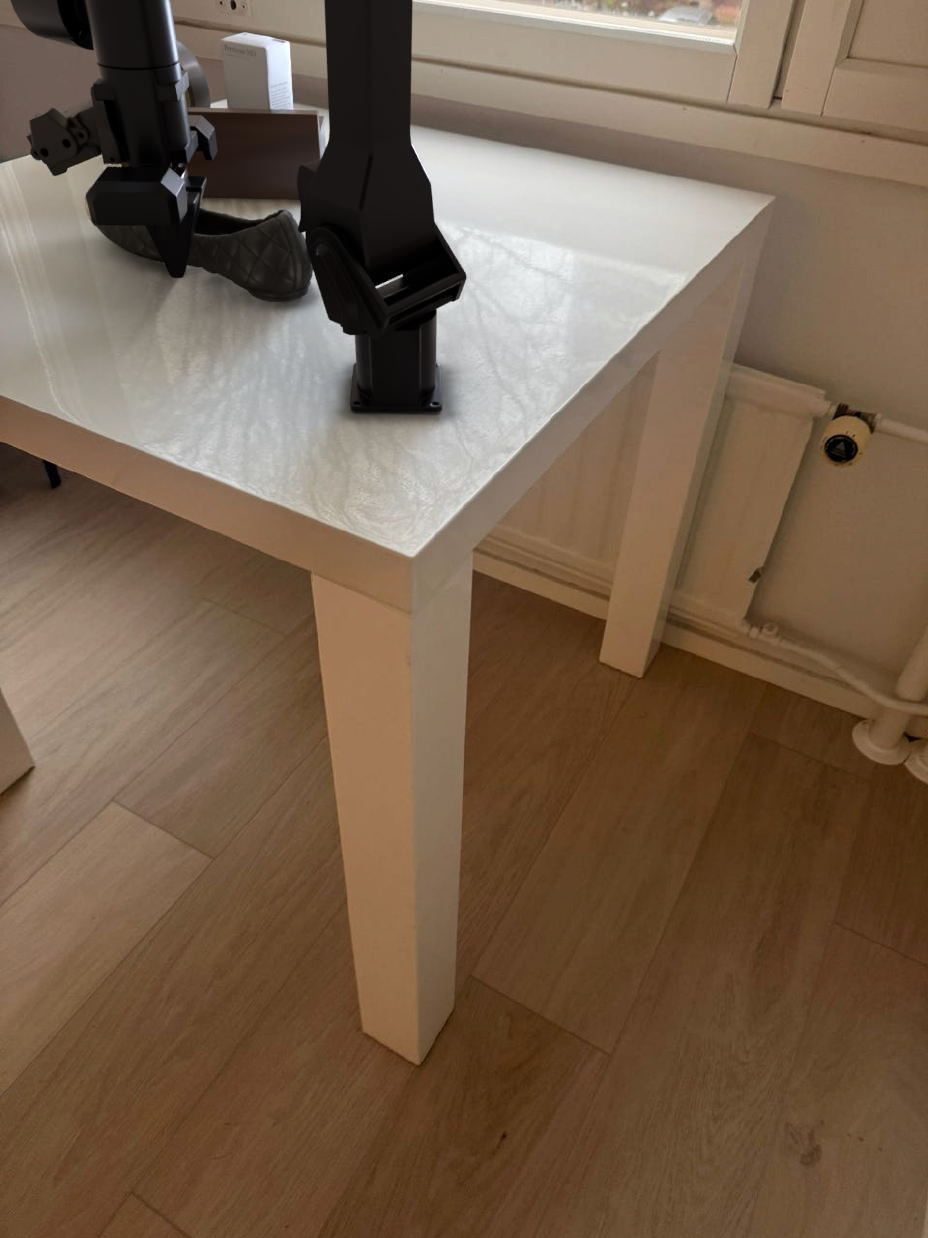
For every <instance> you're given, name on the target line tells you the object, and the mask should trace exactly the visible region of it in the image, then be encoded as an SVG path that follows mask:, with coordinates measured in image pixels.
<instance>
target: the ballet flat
mask: <svg viewBox="0 0 928 1238" xmlns="http://www.w3.org/2000/svg"><path fill="white" fill-rule="evenodd" d="M91 187H92V186H90V187H89V188H88V189H87V191H86V193H87V192H88V191H89V189H90V188H91ZM84 206H85V211H86V215H87V217H88V219H89V221H91V217H90V213H89V208H88V204H87V200H86V196H85V195H84ZM91 223H92V221H91ZM92 225H93V226H94V227H96V228H97V230H99V232H101V234H102V235H103V236H105V238H106V239H108V240H109V241H110V242H112V243H113V244H114V245H116V246H117V247H119V248H120V249H121V250H124V251H125V252H127V253H129V254H131V255H134V256H136V257H139V258H141V259H145V260H149V261H152V262H155V263H160V264H164V263H163V261H162V259H161V257H160V255H159V253H158V251H157V249H156V247H155V245H154V243H153V241H152V239H151V237H150V235H149V233H148V231H147V229H146V227H145V226H130V225H97V224H94V223H92ZM298 226H299V223H298V222H297V221H296V219H295V218H294V216H293V214H292V212H291V211H290V210H288V209H287V208H284V209H282V208H281V209H279V210H278V211H277V212H274V213H270V214H268V215H267V216H266V217H264V218H257V219H256V218H255V219H250V218H249V219H248V218H246V217H241V216H240V217H238V216H235V215H232V214H228V213H225V212H220V211H214V210H210V209H206V208H204V207H202V206H200V210H199V214H198V218H197V223H196V227H195V231H194V235H193V240H192V244H191V249H190V253H189V258H188V262H187V266H188V267H193V268H200V269H201V268H202V269H203V270H204V271H205V272H208V273H209V274H213V275H219V276H222V277H223V278H225V279H226V280H228V281H230V282H232V283H233V284H234V285H236V286H237V287H238V288H241V289H243V290H245V291H247V293H248V294H249V295H251V296H252V297H253V298H255V299H258V300H261V301H265V302H269V303H288V302H294V301H296V300H299V299H301V298H303V297H305V296H306V295H307V294H308V293H309V287H310V286H311V284H312V279H313V275H314V271H313V268H312V265H311V263H310V260H309V256H308V253H307V248H306V241H305V235H304V234H303V233H299V231H298Z"/></svg>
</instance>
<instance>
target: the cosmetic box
mask: <svg viewBox="0 0 928 1238" xmlns="http://www.w3.org/2000/svg"><path fill="white" fill-rule="evenodd" d="M220 48H221V58H222V68H223V76H224V77H223V78H224V85H225V96H226V108H240V109H282V110H294V101H293V97H294V96H293V82H292V81H293V80H292V65H291V62H292V61H291V44H290V41H287V40H283V39H279V38H275V37H272V36H268V35H261V34H256V33H251V32H246V31H245V32H240V33H237V34H233V35H230V36H226V37H224V38H221V39H220Z"/></svg>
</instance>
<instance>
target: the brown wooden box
mask: <svg viewBox="0 0 928 1238" xmlns="http://www.w3.org/2000/svg"><path fill="white" fill-rule="evenodd" d="M187 112H188V115H202V116H203V117H204V118H205V119H206V120H207V121H208V122H209V123H210V124H211V125H212V126H213V127H214V129H215V136H216V143H217V151H218V152H217V154H216V156H215V157H214V159H213V160H206V159H205V157H204V154H203V151H195V152H194V154H193V155H192V157H191V159H190V161H189V162H188V164H185V163H184V164H183V165H182V167H187V173H188V176H204V177H206V179H207V181H206V185H205V188H204V193H203V197H202V198H227V199H275V200H276V199H278V200H279V199H280V200H284V199H285V200H300V198H299V192H298V187H297V176H298V169H299V167H300V166H301V165H303V164H306V163H309V162H313V161H316V160H319V159H321V158H322V155H323V153H324V151H325V148H326V146H327V143H326V142H327V141H326V130H325V129H326V128H325V127H326V126H325V116H324V115H320V113H319V110H317V109H293V110H282V109H240V108H228V107H210V108H198V107H187ZM120 167H128V163H124V162H121V164H120Z"/></svg>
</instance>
